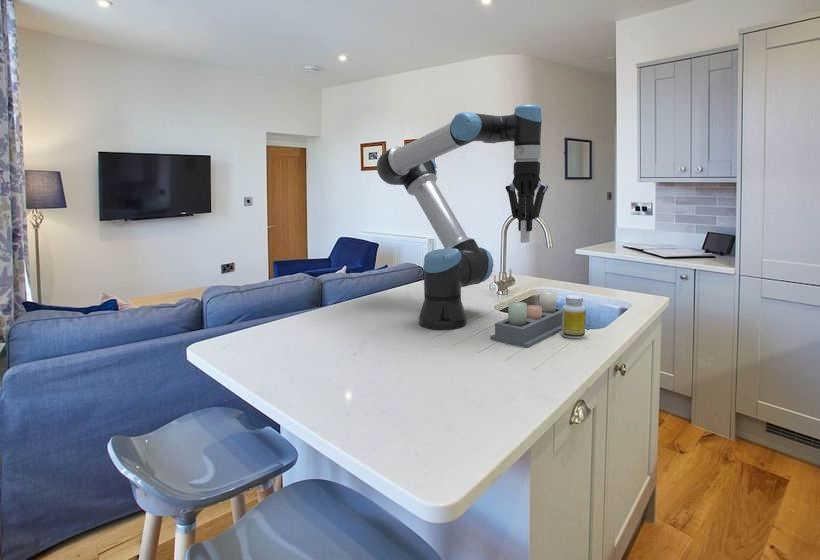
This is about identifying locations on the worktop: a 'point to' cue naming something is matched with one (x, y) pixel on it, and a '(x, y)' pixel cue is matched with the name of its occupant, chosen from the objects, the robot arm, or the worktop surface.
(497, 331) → the button panel
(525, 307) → the button sage
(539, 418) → the worktop surface
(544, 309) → the button cream
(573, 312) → the pill bottle
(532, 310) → the pink cylinder
